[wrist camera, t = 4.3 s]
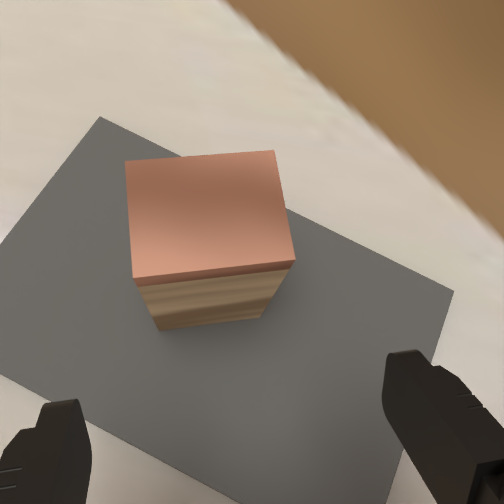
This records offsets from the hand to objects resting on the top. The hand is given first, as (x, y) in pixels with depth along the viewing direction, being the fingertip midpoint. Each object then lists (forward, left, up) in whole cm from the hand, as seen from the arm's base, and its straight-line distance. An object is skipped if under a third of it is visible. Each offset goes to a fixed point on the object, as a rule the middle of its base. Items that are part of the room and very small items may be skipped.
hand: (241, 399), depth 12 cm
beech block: (-3, +5, -10) cm, 11 cm away
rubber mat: (-2, +4, -10) cm, 11 cm away
